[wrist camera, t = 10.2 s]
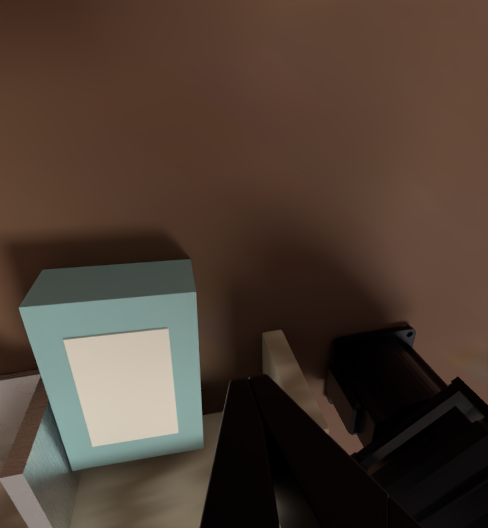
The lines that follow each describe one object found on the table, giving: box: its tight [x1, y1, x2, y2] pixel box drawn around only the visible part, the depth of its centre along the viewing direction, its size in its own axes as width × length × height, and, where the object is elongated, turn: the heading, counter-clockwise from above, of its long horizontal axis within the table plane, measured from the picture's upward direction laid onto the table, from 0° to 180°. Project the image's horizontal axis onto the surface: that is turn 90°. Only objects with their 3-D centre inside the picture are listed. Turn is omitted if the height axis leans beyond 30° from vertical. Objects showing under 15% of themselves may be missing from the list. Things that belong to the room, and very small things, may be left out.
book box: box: [19, 259, 204, 471], centre depth 21 cm, size 8×12×4 cm, turn 179°
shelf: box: [0, 329, 329, 528], centre depth 21 cm, size 22×8×8 cm, turn 92°
